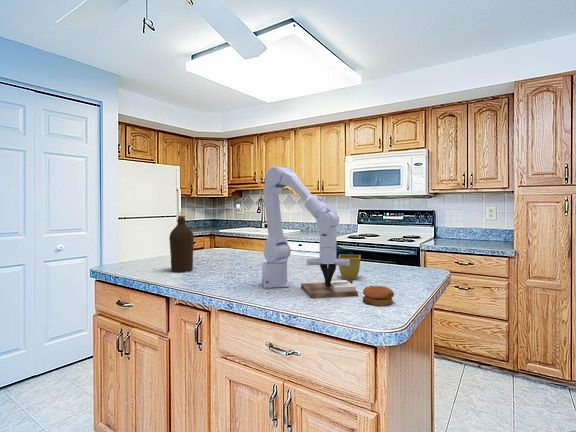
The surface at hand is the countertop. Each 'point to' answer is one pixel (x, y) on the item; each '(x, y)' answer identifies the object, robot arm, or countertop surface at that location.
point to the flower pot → (351, 270)
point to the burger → (378, 295)
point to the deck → (324, 291)
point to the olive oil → (181, 247)
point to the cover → (342, 286)
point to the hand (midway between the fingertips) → (327, 286)
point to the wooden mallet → (346, 280)
